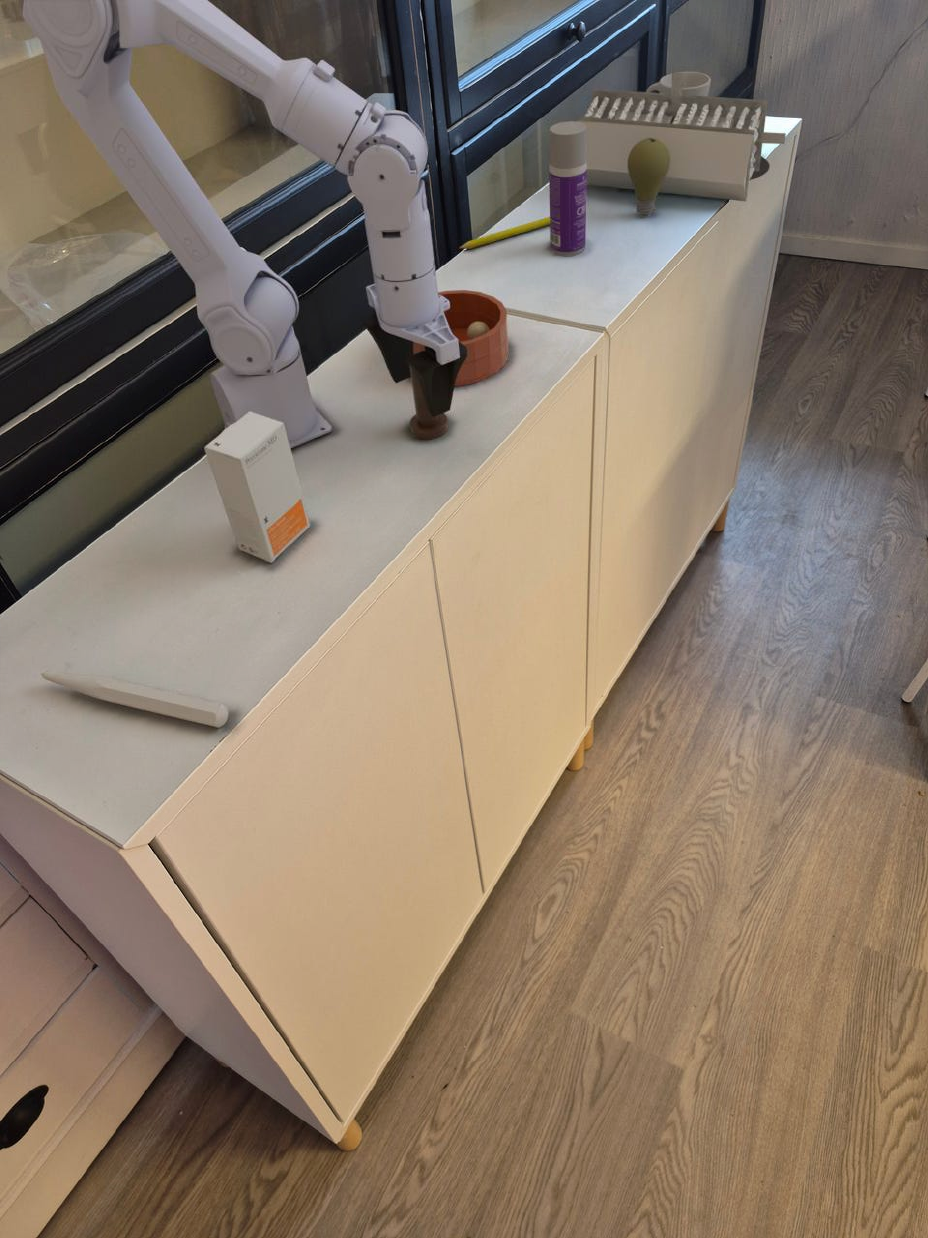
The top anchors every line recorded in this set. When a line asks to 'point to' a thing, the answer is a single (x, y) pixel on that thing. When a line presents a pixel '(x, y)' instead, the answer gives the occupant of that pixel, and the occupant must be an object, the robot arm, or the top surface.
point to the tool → (144, 698)
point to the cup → (685, 84)
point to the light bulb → (648, 172)
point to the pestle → (425, 415)
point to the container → (567, 188)
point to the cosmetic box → (258, 485)
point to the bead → (476, 330)
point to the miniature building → (678, 139)
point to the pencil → (506, 233)
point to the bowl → (481, 351)
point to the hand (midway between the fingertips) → (421, 394)
